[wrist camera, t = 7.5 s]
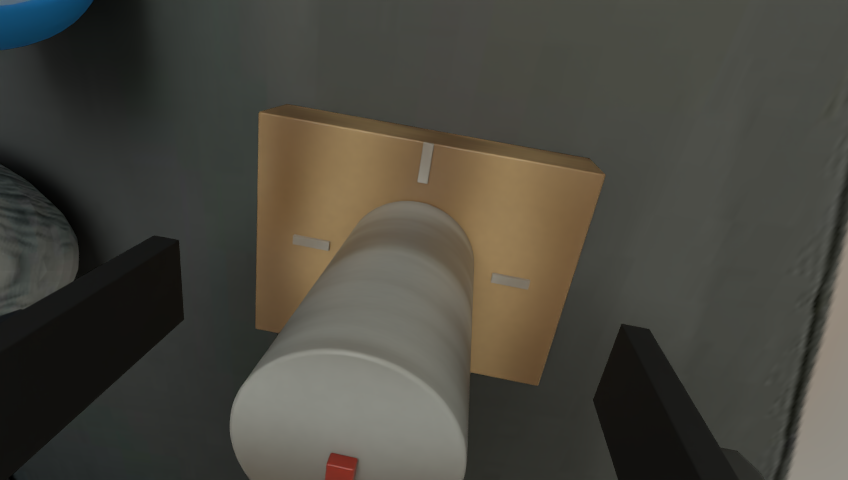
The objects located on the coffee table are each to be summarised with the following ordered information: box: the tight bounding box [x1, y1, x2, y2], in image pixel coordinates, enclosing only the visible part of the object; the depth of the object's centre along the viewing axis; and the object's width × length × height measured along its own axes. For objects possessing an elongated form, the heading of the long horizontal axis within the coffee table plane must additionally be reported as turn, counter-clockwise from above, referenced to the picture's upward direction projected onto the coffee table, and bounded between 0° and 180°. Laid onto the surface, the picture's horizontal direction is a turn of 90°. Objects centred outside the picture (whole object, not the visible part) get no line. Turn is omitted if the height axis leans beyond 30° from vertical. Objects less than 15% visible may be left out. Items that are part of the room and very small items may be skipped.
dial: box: [230, 201, 474, 480], centre depth 13 cm, size 5×5×9 cm
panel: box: [255, 104, 605, 386], centre depth 19 cm, size 12×9×3 cm
